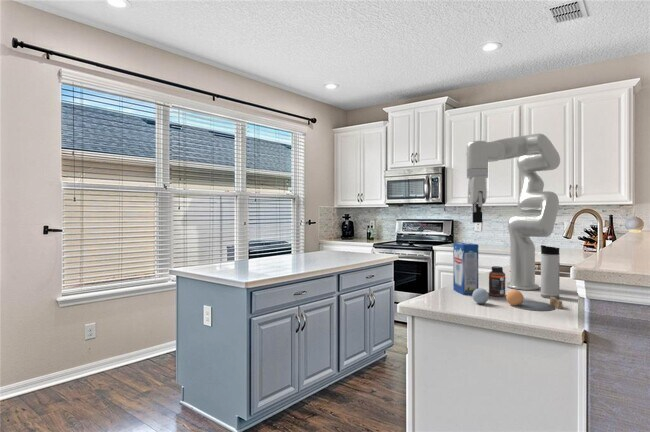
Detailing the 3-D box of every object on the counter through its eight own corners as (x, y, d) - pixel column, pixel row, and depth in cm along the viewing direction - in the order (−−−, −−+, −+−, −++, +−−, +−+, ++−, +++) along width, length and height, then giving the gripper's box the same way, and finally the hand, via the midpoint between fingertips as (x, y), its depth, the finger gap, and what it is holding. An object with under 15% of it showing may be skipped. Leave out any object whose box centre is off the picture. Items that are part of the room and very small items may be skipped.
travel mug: (536, 295, 157) (536, 244, 157) (552, 295, 158) (552, 244, 158) (546, 299, 151) (546, 246, 151) (563, 298, 152) (563, 245, 151)
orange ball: (510, 285, 145) (523, 294, 144) (501, 297, 145) (513, 306, 145) (515, 288, 139) (529, 298, 139) (505, 300, 140) (518, 310, 139)
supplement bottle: (507, 297, 155) (507, 268, 154) (490, 296, 156) (490, 267, 156) (503, 294, 161) (503, 265, 160) (487, 293, 162) (487, 265, 162)
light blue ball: (483, 287, 149) (487, 302, 147) (468, 290, 149) (472, 305, 147) (488, 286, 143) (492, 302, 142) (473, 288, 143) (477, 304, 142)
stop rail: (550, 303, 144) (550, 296, 144) (553, 304, 144) (553, 297, 144) (558, 308, 137) (558, 301, 137) (562, 308, 137) (562, 301, 137)
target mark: (505, 300, 149) (505, 300, 149) (545, 301, 147) (545, 301, 147) (517, 310, 135) (517, 309, 135) (562, 311, 133) (562, 310, 133)
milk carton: (453, 289, 169) (453, 242, 169) (467, 289, 170) (467, 242, 170) (463, 295, 160) (463, 244, 159) (478, 294, 160) (478, 244, 160)
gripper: (463, 175, 159) (463, 221, 160) (471, 172, 145) (471, 223, 145) (482, 175, 158) (482, 221, 159) (493, 172, 144) (493, 223, 144)
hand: (477, 222), depth 152 cm, fingers closed
